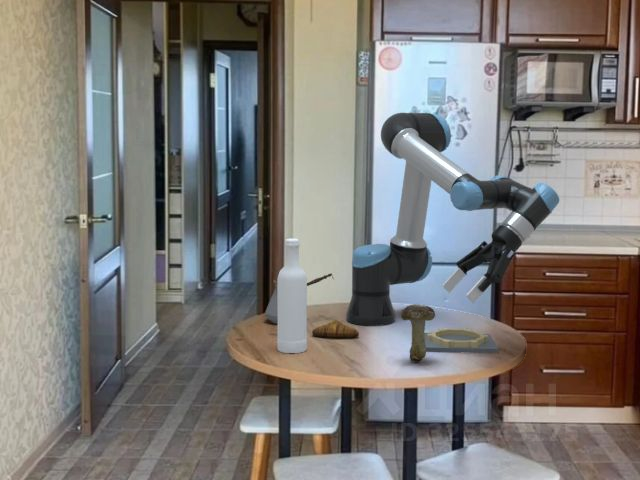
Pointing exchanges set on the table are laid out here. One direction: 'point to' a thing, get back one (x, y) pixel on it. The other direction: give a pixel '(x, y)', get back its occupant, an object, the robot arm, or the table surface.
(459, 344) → the gear board
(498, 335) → the table surface
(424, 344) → the mushroom
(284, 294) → the bottle
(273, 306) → the coffee pot
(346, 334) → the croissant
